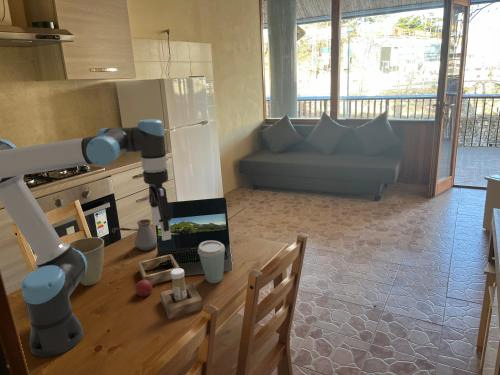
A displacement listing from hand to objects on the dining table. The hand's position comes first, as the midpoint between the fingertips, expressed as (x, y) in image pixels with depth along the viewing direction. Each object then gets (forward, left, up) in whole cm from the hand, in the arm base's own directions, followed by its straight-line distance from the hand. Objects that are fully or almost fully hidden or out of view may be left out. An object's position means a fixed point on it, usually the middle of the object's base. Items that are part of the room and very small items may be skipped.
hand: (161, 231), depth 127 cm
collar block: (+3, -1, -29) cm, 29 cm away
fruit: (-7, +12, -29) cm, 32 cm away
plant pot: (-25, +34, -29) cm, 51 cm away
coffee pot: (-3, +52, -29) cm, 60 cm away
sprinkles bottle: (+3, -1, -29) cm, 29 cm away
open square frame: (+1, +25, -29) cm, 38 cm away
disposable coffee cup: (+19, +9, -29) cm, 36 cm away
